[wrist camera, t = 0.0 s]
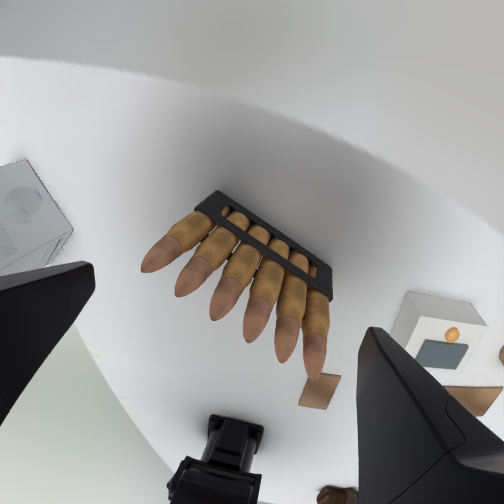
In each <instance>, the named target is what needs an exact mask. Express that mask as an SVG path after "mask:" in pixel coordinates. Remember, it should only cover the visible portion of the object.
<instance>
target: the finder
mask: <svg viewBox="0 0 504 504" xmlns="http://www.w3.org/2000/svg"><path fill="white" fill-rule="evenodd" d="M487 328H488V325H487V324H486V323H485V321H484V320H483V319H482V317H481V316H480V314H479V313H478V312H477V310H476V309H475V308H474V306H473V305H472V304H471V303H466V302H461V301H456V300H451V299H445V298H440V297H435V296H430V295H425V294H420V293H414V292H409V291H408V292H407V295H406V297H405V300H404V302H403V305H402V307H401V310H400V312H399V315H398V317H397V320H396V322H395V324H394V327H393V329H392V331H391V334H390V336H391V337H392V338H393V339H394V340H395V341H396V342H397V343H398V344H399V345H401V346H402V347H403V348H404V349H405V350H406V351H407V352H408V353H409V354H410V355H411V356H412V357H413V358H414V359H415V360H416V361H417V362H418V363H419V364H421V365H422V366H423V367H424V368H425V369H426V370H427V371H434V372H447V373H462V372H463V371H464V369H465V367H466V366H467V364H468V362H469V361H470V359H471V357H472V356H473V354H474V352H475V350H476V349H477V347H478V345H479V343H480V341H481V339H482V338H483V336H484V334H485V332H486V330H487Z"/></svg>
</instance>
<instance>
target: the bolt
mask: <svg viewBox="0 0 504 504" xmlns="http://www.w3.org/2000/svg"><path fill="white" fill-rule="evenodd" d="M317 503H318V504H358V495H357V494H356V492H355V491H354V490H353V489H348V488H346V489H343V490H341V491H337V490H333V489H329V488H326V489H324V490H322V491H321V492H320V493H319V494H318V496H317Z"/></svg>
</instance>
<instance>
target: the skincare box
mask: <svg viewBox="0 0 504 504" xmlns="http://www.w3.org/2000/svg"><path fill="white" fill-rule="evenodd" d="M72 231H73V227H72V226H71V225H70V223H69V222H68V221H67V219H66V218H65V216H64V215H63V214H62V212H61V211H60V210H59V208H58V207H57V205H56V204H55V202H54V201H53V199H52V198H51V197H50V195H49V194H48V192H47V191H46V189H45V188H44V186H43V185H42V183H41V182H40V180H39V178H38V177H37V176H36V174H35V172H34V171H33V169H32V168H31V166H30V164H29V163H28V161H27V160H26V159H25V160H21V161H18V162H15V163H11V164H7V165H4V166H1V167H0V276H3V275H8V274H14V273H19V272H24V271H29V270H35V269H40V268H43V267H44V266H46V265H48V264H49V263H51V262H53V261H54V259H55V257H56V256H57V254H58V252H59V251H60V249H61V248H62V246H63V245H64V243H65V242H66V240H67V239H68V237H69V236H70V234H71V233H72Z"/></svg>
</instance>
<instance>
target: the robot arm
mask: <svg viewBox="0 0 504 504" xmlns="http://www.w3.org/2000/svg"><path fill="white" fill-rule="evenodd" d="M94 290H95V276H94V267H93V265H92V264H91V263H89V262H85V261H78V262H73V263H67V264H62V265H56V266H51V267H46V268H40V269H35V270H29V271H24V272H19V273H14V274H8V275H3V276H0V426H1V424H2V423H3V421H4V420H5V418H6V416H7V415H8V413H9V412H10V409H11V408H12V407H13V405H14V404H15V402H16V401H17V399H18V397H19V396H20V394H21V393H22V392H23V390H24V389H25V387H26V386H27V384H28V383H29V382H30V380H31V379H32V377H33V376H34V374H35V373H36V372H37V370H38V369H39V367H40V366H41V365H42V363H43V362H44V361H45V359H46V358H47V357H48V355H49V354H50V353H51V351H52V350H53V349H54V347H55V346H56V345H57V343H58V342H59V341H60V339H61V338H62V337H63V336H64V334H65V333H66V332H67V330H68V329H69V328H70V326H71V325H72V324H73V323H74V321H75V320H76V318H77V317H78V315H79V314H80V312H81V310H82V309H83V307H84V306H85V304H86V303H87V301H88V300H89V298H90V297H91V295H92V294H93V292H94ZM356 405H357V424H358V457H359V492H358V504H504V441H503V440H501V439H500V438H499V437H498V436H497V435H496V434H494V433H493V432H492V431H491V430H490V429H489V428H487V427H486V426H485V425H484V424H483V423H481V422H480V421H479V420H478V419H477V418H476V417H475V416H474V415H472V414H471V413H470V412H469V411H468V410H467V409H466V408H465V407H464V406H463V405H462V404H461V403H460V402H458V401H457V400H456V399H455V398H454V397H453V396H452V395H451V394H449V392H448V391H447V390H446V389H445V388H444V387H443V386H442V385H441V384H440V383H439V382H438V381H437V380H436V379H435V378H434V377H433V376H432V375H431V374H430V373H429V372H428V371H427V370H426V369H425V368H424V367H423V366H422V365H421V364H419V363H418V362H417V361H416V360H415V359H414V358H413V357H412V356H411V355H410V354H409V353H408V352H407V351H406V350H405V349H404V348H403V347H402V346H401V345H399V344H398V343H397V342H396V341H395V340H394V339H393V338H392V337H391V336H390V335H389V334H388V333H387V332H386V331H385V330H383V329H382V328H378V327H369V328H368V329H367V331H366V334H365V336H364V339H363V341H362V344H361V346H360V349H359V352H358V371H357V390H356ZM263 431H264V428H263V427H261V426H256V425H252V424H247V423H243V422H238V421H234V420H230V419H226V418H222V417H218V416H214V415H211V416H210V418H209V427H208V442H207V444H206V447H205V450H204V452H203V455H202V458H201V460H197V459H193V458H191V457H189V456H186V458H185V459H184V460H183V461H181V463H180V465H179V467H178V470H177V471H176V473H175V474H174V475H173V477H172V478H171V479H170V480H169V482H168V483H167V488H168V490H169V497H168V499H169V501H171V502H170V504H257V500H258V494H259V489H260V483H261V478H262V474H253V473H249V472H250V468H251V464H252V460H253V456H254V454H256V453H257V450H258V447H259V444H260V441H261V438H262V435H263Z"/></svg>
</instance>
